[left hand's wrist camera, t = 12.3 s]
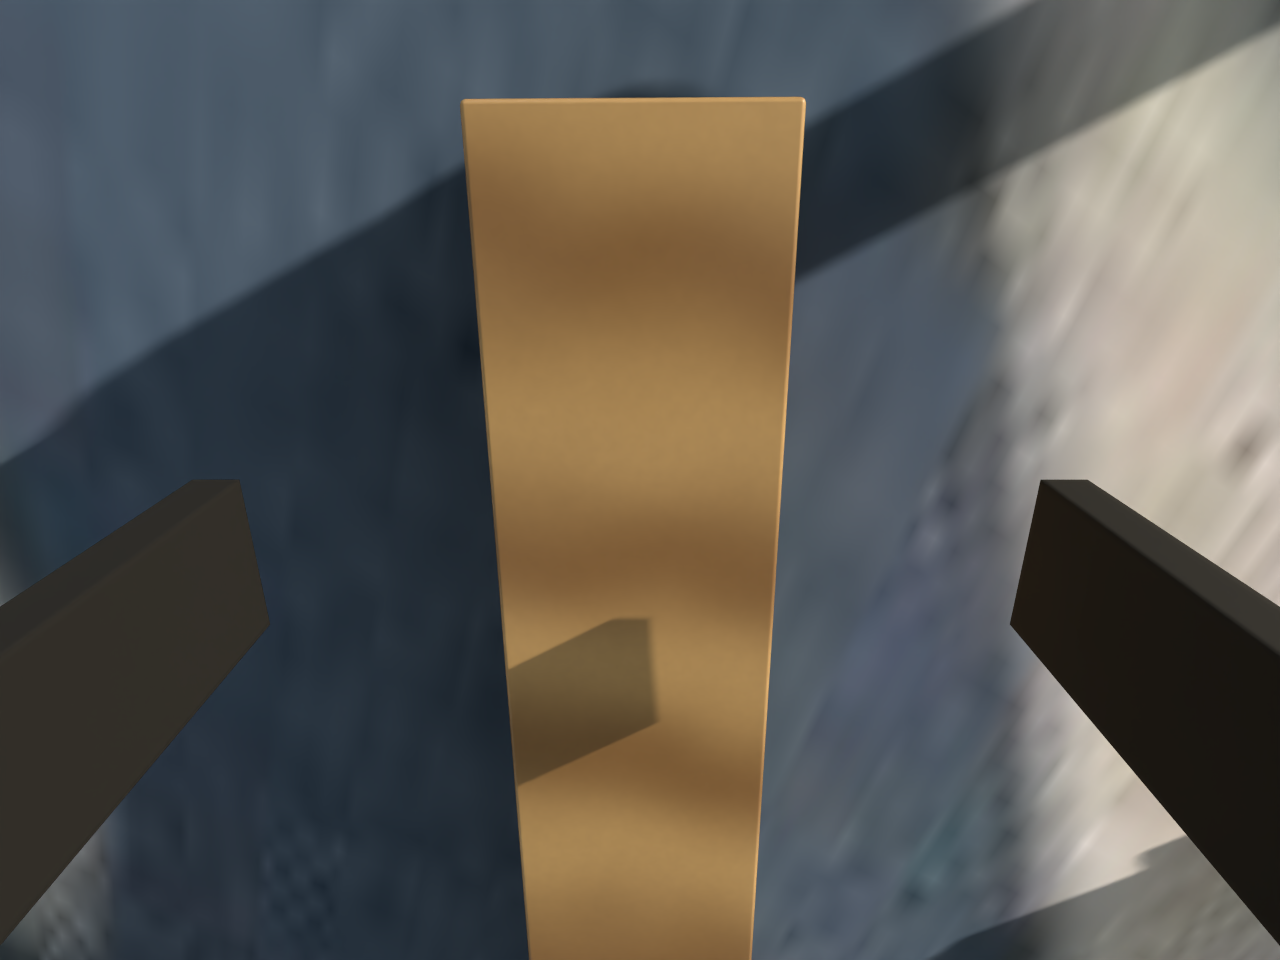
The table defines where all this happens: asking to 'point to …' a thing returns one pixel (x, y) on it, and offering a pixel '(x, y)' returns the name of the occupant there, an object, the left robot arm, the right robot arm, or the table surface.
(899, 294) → the table surface
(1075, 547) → the left robot arm
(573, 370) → the post
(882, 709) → the table surface
